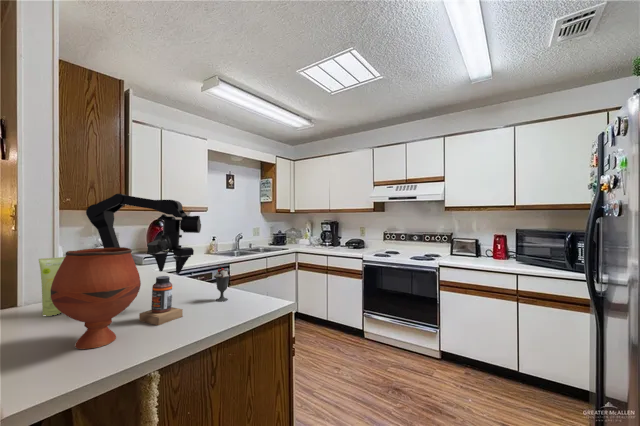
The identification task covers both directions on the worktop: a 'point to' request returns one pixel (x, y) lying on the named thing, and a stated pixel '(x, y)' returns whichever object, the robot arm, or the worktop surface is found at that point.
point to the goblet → (95, 290)
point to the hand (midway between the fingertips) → (169, 272)
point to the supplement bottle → (161, 295)
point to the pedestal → (160, 316)
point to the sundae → (222, 282)
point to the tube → (49, 283)
